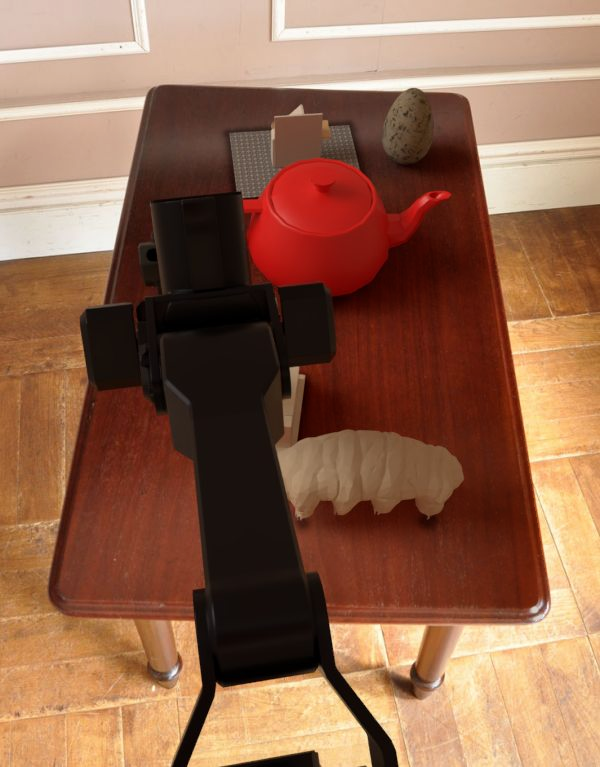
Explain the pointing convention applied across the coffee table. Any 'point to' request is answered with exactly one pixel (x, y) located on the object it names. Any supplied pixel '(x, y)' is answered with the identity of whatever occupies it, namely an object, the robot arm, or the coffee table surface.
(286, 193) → the teapot
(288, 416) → the holder
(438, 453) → the model
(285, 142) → the napkin holder
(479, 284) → the coffee table surface
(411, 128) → the decorative egg
